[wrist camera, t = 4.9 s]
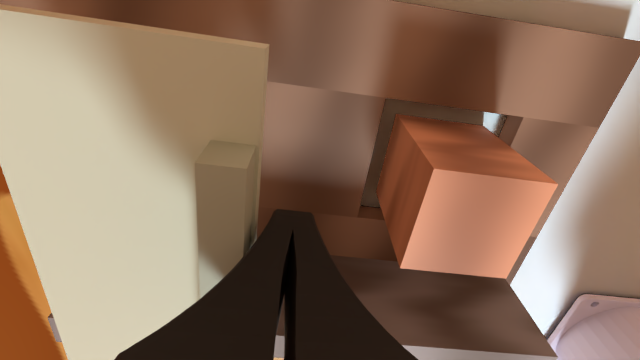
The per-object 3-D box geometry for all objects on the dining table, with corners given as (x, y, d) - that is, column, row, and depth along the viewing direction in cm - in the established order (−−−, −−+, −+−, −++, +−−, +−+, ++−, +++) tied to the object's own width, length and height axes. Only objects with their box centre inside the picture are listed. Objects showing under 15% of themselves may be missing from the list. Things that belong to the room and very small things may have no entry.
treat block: (482, 125, 17) (558, 184, 12) (453, 200, 19) (506, 278, 14) (395, 113, 17) (433, 168, 11) (375, 191, 19) (399, 268, 13)
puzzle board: (624, 39, 15) (818, 67, 9) (493, 282, 22) (557, 384, 16) (1, -64, 13) (-253, -111, 7) (79, 242, 20) (-17, 343, 14)
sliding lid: (269, 44, 9) (256, 59, 7) (248, 357, 15) (238, 411, 13) (-25, 0, 8) (-131, 2, 6) (81, 345, 14) (45, 400, 12)
